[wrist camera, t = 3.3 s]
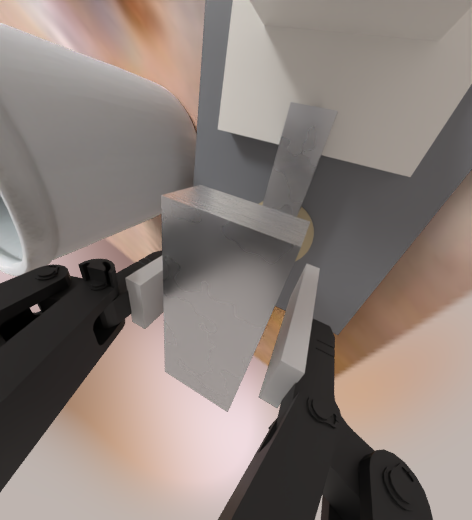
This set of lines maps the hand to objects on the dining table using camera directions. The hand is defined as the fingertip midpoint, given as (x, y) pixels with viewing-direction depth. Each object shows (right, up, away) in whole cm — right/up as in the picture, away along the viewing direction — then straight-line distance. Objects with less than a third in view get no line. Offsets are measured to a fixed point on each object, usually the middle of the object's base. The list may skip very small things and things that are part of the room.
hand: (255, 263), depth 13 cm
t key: (+3, +4, +3) cm, 6 cm away
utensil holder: (-11, +13, +12) cm, 21 cm away
